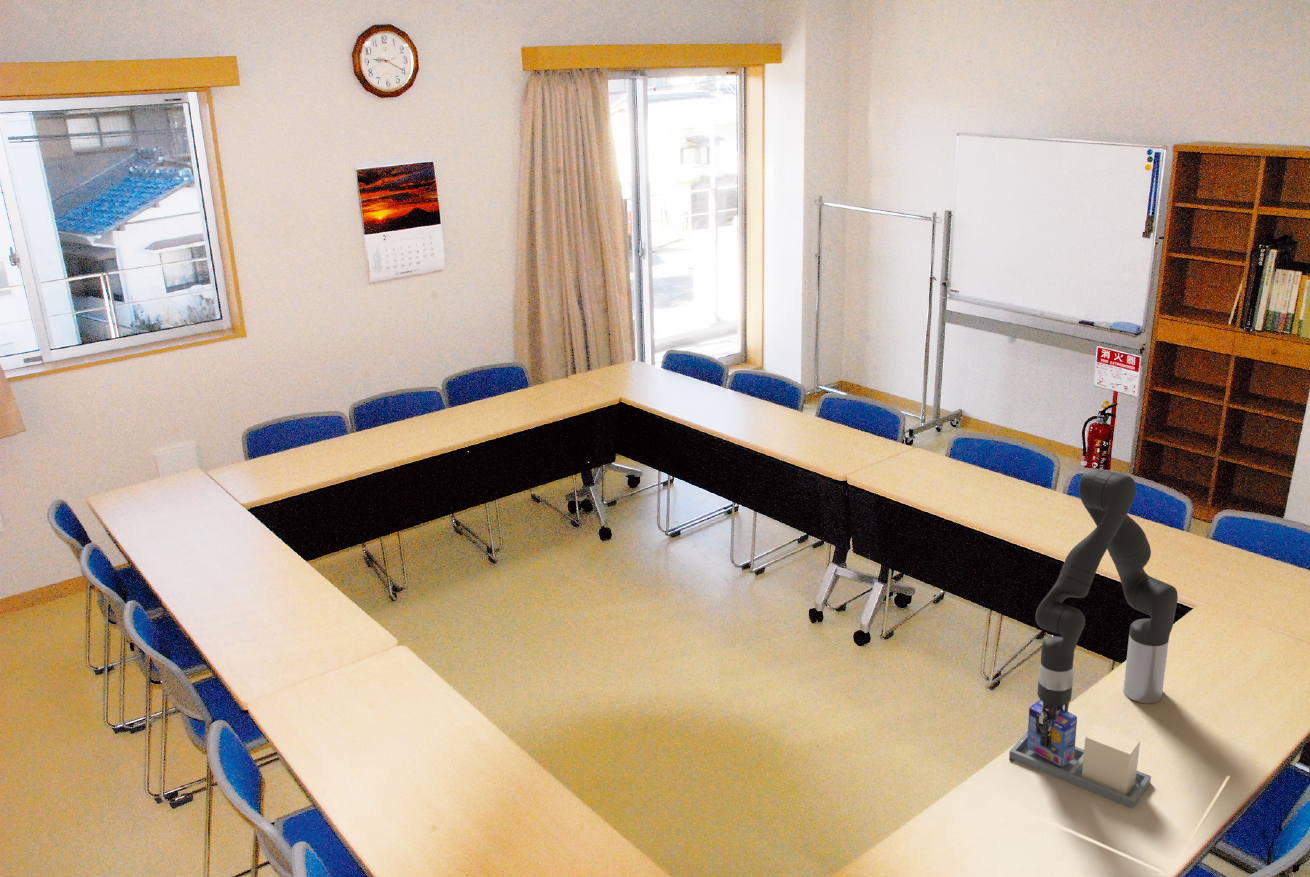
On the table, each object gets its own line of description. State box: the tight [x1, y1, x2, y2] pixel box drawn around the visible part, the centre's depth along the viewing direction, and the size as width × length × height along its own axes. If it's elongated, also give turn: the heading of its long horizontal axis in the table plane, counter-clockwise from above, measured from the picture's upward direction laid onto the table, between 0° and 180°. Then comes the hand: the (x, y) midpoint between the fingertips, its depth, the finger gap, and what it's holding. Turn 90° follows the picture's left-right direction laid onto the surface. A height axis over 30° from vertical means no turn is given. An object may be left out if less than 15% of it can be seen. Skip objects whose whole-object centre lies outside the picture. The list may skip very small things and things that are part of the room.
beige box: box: [1082, 724, 1141, 796], centre depth 240 cm, size 6×10×12 cm, turn 47°
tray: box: [1008, 730, 1152, 810], centre depth 247 cm, size 11×29×2 cm, turn 47°
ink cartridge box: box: [1027, 698, 1078, 767], centre depth 249 cm, size 10×6×14 cm, turn 38°
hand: (1050, 739), depth 250 cm, fingers closed on ink cartridge box, 5 cm apart
